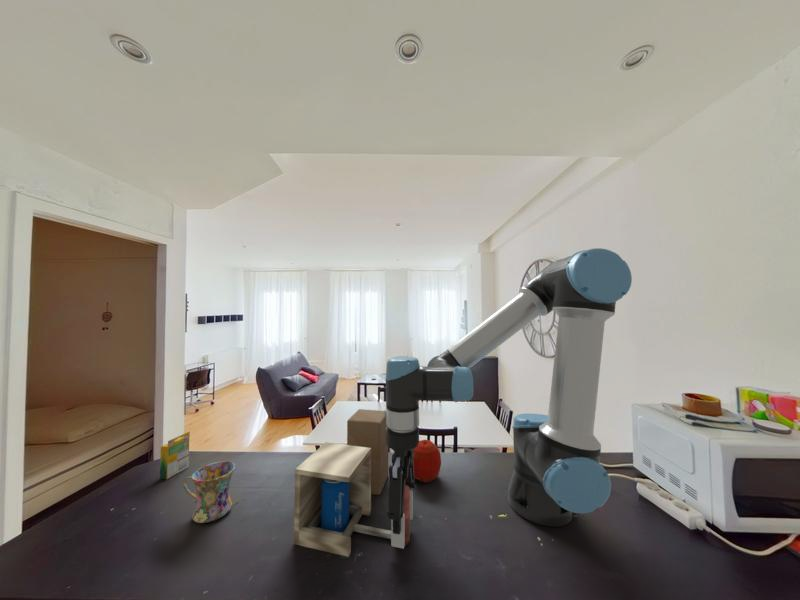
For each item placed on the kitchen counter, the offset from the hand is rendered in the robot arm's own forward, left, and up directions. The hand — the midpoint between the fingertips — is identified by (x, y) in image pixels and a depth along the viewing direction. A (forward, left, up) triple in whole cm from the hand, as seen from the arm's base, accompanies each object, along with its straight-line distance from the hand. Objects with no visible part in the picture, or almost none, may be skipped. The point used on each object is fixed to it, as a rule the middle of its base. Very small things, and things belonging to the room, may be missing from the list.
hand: (402, 530), depth 62 cm
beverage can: (+16, 0, -2) cm, 17 cm away
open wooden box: (+16, 0, -2) cm, 17 cm away
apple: (-1, -25, -2) cm, 25 cm away
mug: (+50, +4, -2) cm, 50 cm away
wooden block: (+15, -18, -2) cm, 24 cm away
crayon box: (+77, -8, -2) cm, 77 cm away
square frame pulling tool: (+10, 0, -2) cm, 10 cm away
